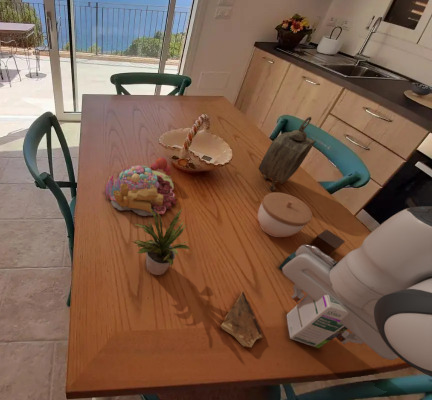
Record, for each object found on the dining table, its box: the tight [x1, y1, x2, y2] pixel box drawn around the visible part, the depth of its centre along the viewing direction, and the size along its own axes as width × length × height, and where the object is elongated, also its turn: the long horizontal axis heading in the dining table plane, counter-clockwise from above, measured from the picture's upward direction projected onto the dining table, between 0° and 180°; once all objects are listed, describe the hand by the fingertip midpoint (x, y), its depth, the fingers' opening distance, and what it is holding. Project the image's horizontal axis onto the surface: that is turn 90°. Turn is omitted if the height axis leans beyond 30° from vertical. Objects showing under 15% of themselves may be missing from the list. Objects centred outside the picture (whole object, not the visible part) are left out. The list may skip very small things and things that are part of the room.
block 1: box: [278, 250, 296, 271], centre depth 69 cm, size 5×5×5 cm
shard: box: [220, 291, 264, 348], centre depth 59 cm, size 11×8×2 cm
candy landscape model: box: [105, 157, 178, 217], centre depth 87 cm, size 25×24×9 cm
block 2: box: [308, 228, 346, 257], centre depth 74 cm, size 5×5×5 cm
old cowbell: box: [258, 116, 316, 192], centre depth 91 cm, size 14×9×25 cm, turn 131°
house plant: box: [131, 207, 191, 276], centre depth 64 cm, size 14×14×16 cm
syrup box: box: [286, 294, 349, 349], centre depth 54 cm, size 6×6×14 cm
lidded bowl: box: [257, 191, 313, 238], centre depth 78 cm, size 13×13×11 cm
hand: (317, 317), depth 55 cm, fingers open, 8 cm apart
